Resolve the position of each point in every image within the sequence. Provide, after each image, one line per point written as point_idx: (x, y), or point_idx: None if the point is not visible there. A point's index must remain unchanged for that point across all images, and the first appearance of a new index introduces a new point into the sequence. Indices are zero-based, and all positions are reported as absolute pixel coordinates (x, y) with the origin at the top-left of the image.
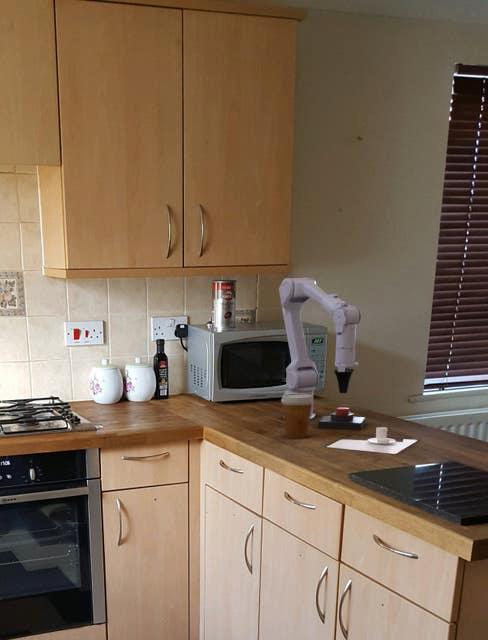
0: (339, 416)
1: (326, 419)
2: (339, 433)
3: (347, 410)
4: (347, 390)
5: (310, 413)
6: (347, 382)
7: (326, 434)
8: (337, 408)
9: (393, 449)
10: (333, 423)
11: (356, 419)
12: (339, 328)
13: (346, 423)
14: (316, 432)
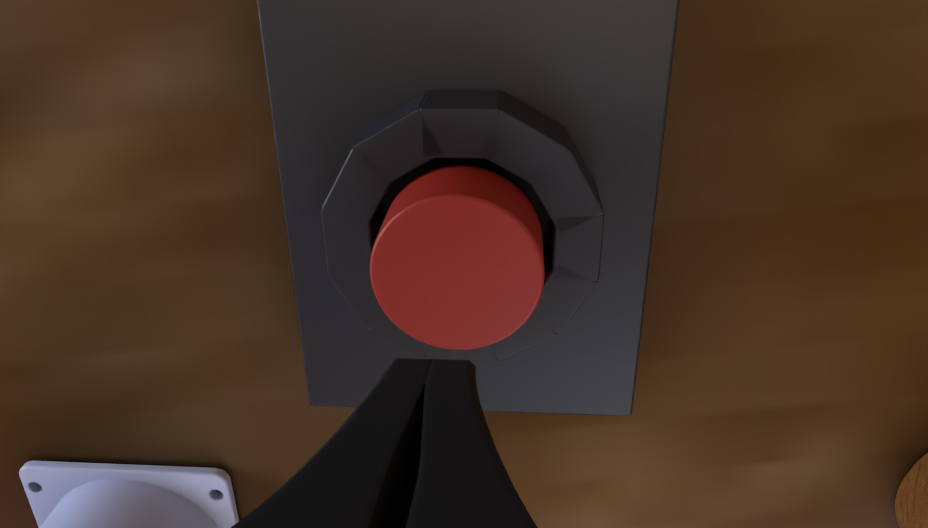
0: (599, 257)
1: (505, 363)
2: (863, 164)
3: (506, 201)
4: (411, 373)
5: (153, 510)
6: (509, 502)
7: (915, 277)
8: (486, 333)
9: None
10: (643, 276)
11: (437, 51)
12: None
13: (661, 142)
14: (810, 369)
